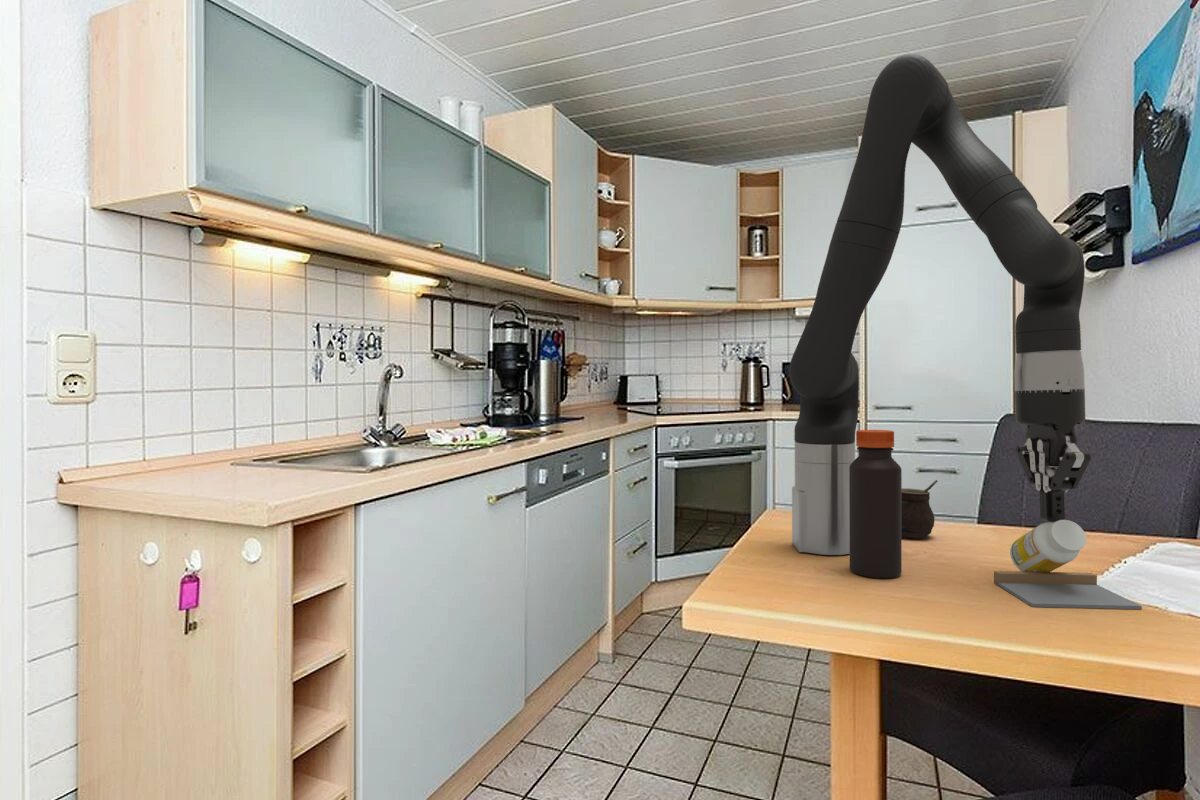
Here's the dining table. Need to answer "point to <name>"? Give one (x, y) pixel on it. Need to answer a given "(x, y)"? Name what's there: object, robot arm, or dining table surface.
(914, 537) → the mate gourd
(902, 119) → the robot arm
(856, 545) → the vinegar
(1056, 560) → the supplement bottle
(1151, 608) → the dining table surface
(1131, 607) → the plate
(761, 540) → the dining table surface
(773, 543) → the dining table surface
